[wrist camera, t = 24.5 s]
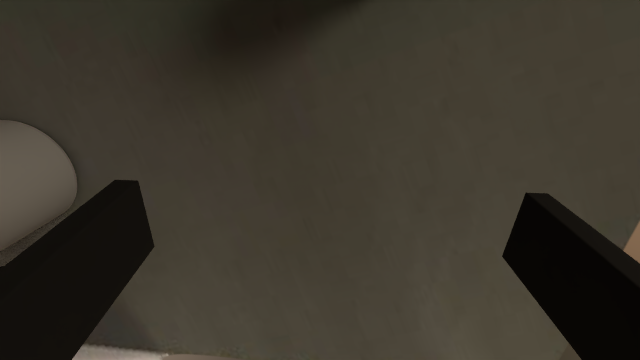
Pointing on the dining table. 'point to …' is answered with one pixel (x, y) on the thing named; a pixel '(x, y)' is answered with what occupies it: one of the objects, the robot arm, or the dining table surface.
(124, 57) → the dining table surface
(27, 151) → the cylinder vase
